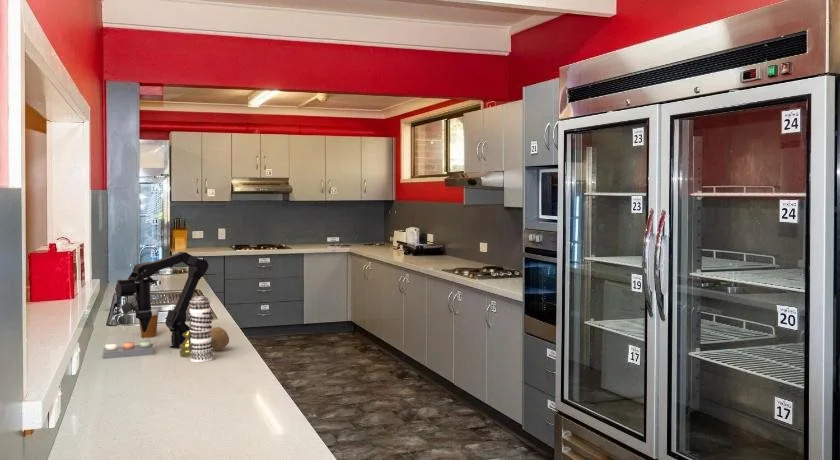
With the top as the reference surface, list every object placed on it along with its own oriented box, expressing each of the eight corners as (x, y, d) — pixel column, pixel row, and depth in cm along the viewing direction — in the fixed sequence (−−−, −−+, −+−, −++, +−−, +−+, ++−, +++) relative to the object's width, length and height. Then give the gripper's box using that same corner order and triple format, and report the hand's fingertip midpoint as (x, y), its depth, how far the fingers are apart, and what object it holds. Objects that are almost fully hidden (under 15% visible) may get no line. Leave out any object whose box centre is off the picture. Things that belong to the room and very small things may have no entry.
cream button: (117, 347, 314) (117, 343, 314) (117, 349, 310) (116, 345, 310) (105, 348, 313) (105, 343, 313) (105, 350, 309) (105, 346, 309)
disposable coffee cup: (145, 339, 344) (144, 312, 343) (133, 336, 350) (132, 310, 349) (164, 335, 351) (163, 309, 351) (152, 333, 357) (151, 307, 356)
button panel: (153, 349, 321) (152, 344, 321) (153, 354, 313) (153, 348, 313) (104, 354, 315) (103, 348, 315) (103, 358, 306) (103, 352, 306)
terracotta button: (134, 346, 317) (134, 341, 316) (134, 348, 313) (134, 343, 312) (122, 347, 315) (122, 342, 315) (122, 349, 311) (122, 344, 311)
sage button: (150, 344, 319) (150, 340, 319) (151, 347, 315) (150, 342, 315) (139, 345, 317) (139, 341, 317) (139, 348, 313) (139, 343, 313)
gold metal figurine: (193, 357, 306) (192, 333, 305) (176, 357, 308) (175, 332, 307) (202, 353, 313) (201, 329, 313) (185, 353, 315) (184, 329, 314)
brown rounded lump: (201, 351, 316) (200, 328, 316) (216, 347, 324) (215, 324, 324) (218, 353, 312) (217, 329, 311) (233, 349, 320) (232, 325, 319)
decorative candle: (212, 355, 308) (210, 294, 307) (215, 360, 300) (212, 297, 298) (188, 358, 305) (186, 296, 304) (190, 363, 296) (188, 299, 295)
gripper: (122, 292, 321) (123, 329, 322) (121, 298, 303) (123, 337, 304) (150, 290, 324) (151, 327, 325) (151, 296, 307) (152, 335, 308)
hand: (144, 331), depth 316 cm, fingers closed
